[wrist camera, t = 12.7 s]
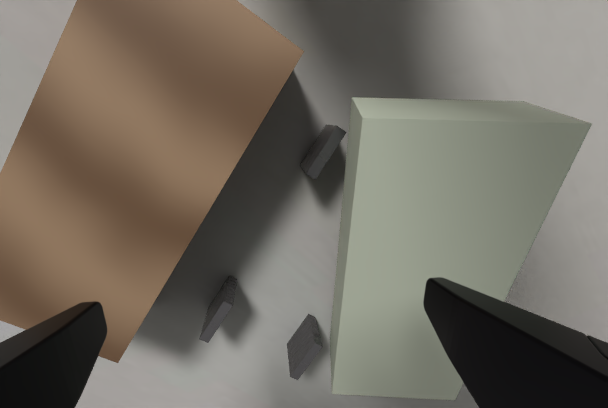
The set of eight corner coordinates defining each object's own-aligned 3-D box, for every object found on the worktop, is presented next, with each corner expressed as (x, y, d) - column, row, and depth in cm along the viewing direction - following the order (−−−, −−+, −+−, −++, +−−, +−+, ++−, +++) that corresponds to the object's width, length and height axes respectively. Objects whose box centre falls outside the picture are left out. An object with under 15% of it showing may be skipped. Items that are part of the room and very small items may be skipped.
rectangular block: (362, 118, 11) (591, 123, 10) (349, 92, 15) (509, 96, 15) (331, 393, 20) (454, 400, 19) (329, 326, 24) (428, 331, 24)
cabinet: (162, -26, 15) (117, -90, 11) (424, 165, 20) (474, 180, 15) (27, 252, 18) (-56, 299, 14) (283, 361, 23) (288, 424, 18)
